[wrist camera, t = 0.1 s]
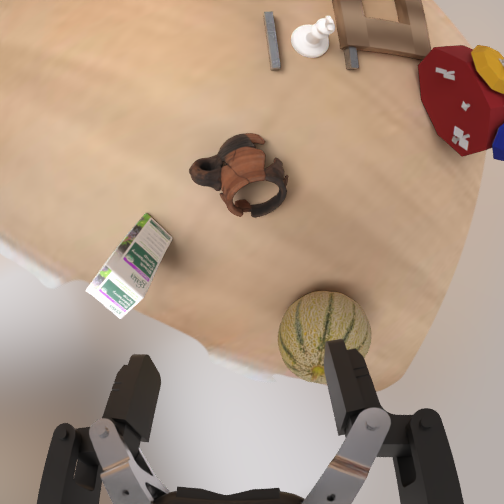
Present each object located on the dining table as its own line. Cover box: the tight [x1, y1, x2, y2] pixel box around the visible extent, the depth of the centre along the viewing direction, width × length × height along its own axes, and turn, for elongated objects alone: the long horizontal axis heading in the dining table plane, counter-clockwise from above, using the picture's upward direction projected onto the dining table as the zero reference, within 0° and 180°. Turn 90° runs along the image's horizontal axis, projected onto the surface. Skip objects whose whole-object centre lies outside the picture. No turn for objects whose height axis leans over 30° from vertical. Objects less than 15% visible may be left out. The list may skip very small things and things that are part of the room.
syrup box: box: [86, 213, 173, 319], centre depth 35 cm, size 6×6×14 cm
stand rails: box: [263, 12, 359, 70], centre depth 27 cm, size 8×11×2 cm
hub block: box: [332, 0, 431, 59], centre depth 23 cm, size 16×13×3 cm
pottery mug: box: [189, 133, 288, 217], centre depth 34 cm, size 12×10×8 cm
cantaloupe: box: [278, 291, 371, 384], centre depth 42 cm, size 15×15×15 cm
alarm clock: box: [418, 45, 504, 161], centre depth 22 cm, size 15×9×20 cm, turn 24°
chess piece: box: [291, 16, 335, 58], centre depth 23 cm, size 5×5×10 cm
